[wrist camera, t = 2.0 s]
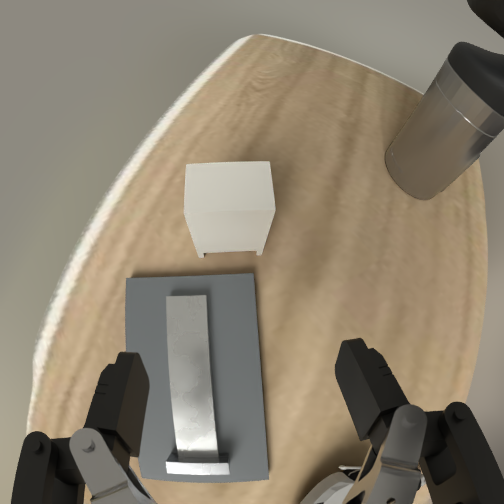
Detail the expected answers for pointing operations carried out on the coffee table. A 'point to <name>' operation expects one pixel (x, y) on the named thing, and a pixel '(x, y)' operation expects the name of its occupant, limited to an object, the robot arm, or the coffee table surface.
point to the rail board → (222, 369)
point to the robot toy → (338, 486)
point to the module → (229, 205)
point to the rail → (192, 389)
